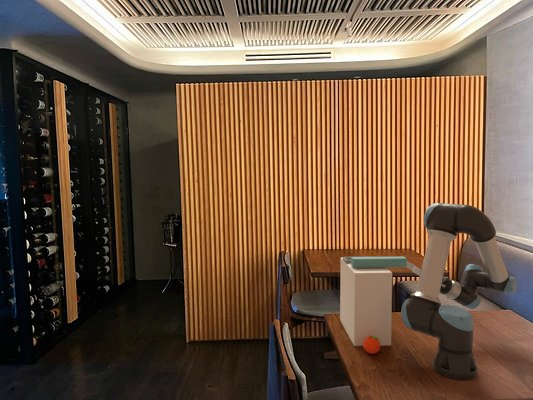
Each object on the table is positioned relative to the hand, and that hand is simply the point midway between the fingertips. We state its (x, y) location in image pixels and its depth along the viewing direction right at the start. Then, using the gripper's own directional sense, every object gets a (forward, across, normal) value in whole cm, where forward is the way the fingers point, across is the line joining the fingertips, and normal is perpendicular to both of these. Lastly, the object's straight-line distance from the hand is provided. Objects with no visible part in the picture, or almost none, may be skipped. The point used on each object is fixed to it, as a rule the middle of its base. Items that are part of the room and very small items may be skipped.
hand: (407, 265), depth 182 cm
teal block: (+11, 0, -7) cm, 13 cm away
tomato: (+1, -17, -39) cm, 42 cm away
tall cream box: (0, +5, -38) cm, 38 cm away
